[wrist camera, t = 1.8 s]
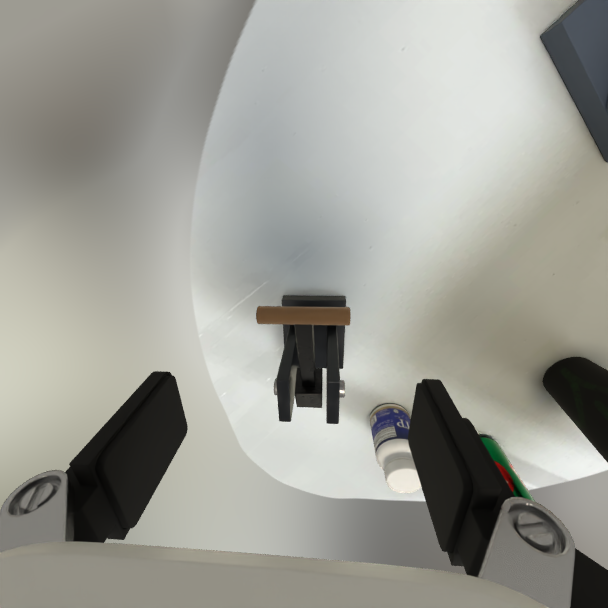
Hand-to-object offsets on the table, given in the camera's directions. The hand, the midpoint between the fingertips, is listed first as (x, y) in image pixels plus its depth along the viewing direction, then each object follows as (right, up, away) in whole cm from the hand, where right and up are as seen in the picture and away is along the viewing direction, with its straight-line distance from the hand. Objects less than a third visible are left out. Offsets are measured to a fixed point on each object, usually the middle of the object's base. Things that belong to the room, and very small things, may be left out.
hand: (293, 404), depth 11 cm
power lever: (+1, +1, +11) cm, 11 cm away
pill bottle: (+12, -11, +27) cm, 32 cm away
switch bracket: (+2, +1, +23) cm, 23 cm away
